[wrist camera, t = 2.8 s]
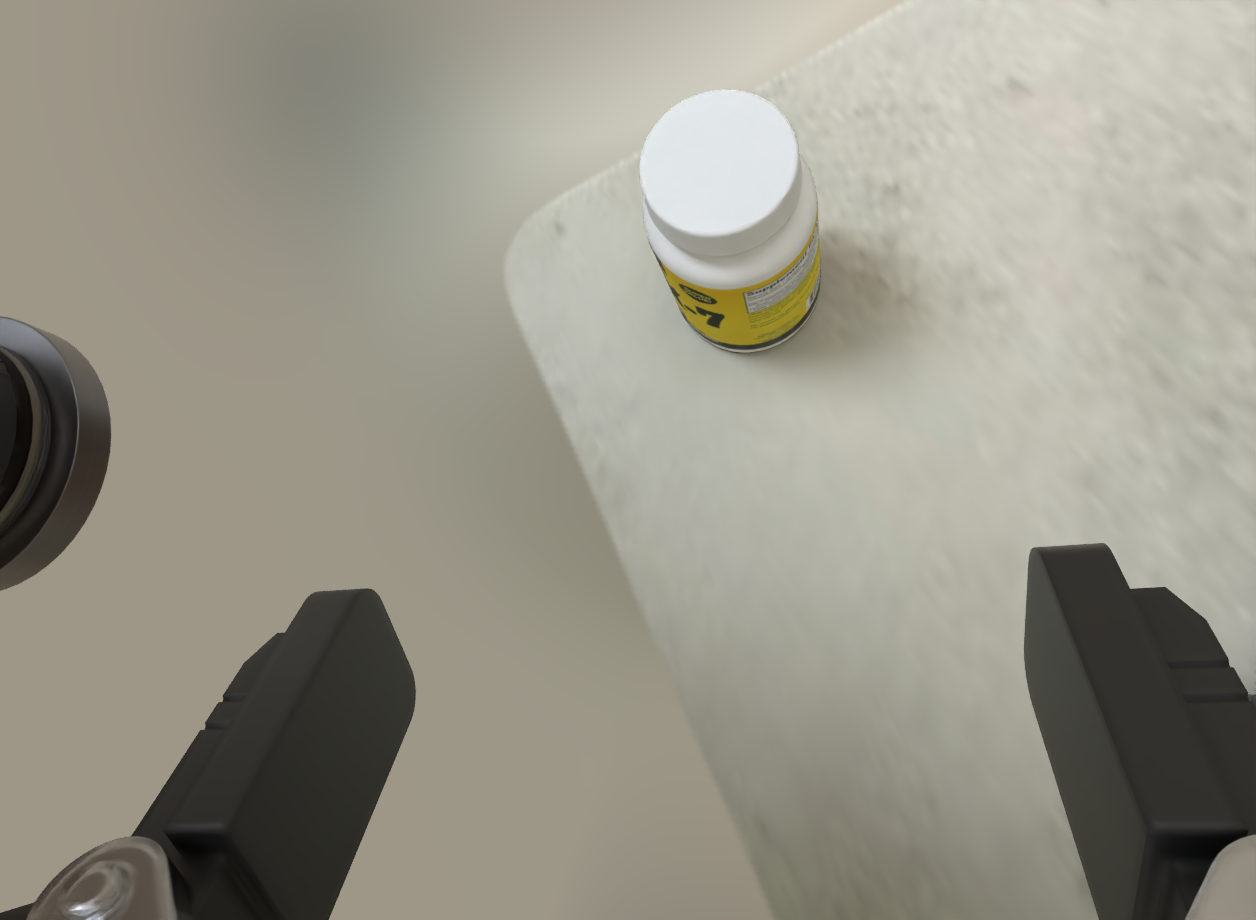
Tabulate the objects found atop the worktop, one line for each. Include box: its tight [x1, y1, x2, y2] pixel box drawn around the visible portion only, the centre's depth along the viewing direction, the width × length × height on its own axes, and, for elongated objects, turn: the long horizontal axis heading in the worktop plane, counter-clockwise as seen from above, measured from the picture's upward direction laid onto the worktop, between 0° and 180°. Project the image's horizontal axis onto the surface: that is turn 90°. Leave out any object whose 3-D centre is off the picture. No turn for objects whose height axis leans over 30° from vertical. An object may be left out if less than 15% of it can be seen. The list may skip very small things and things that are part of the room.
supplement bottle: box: [639, 89, 821, 352], centre depth 26 cm, size 5×5×8 cm
